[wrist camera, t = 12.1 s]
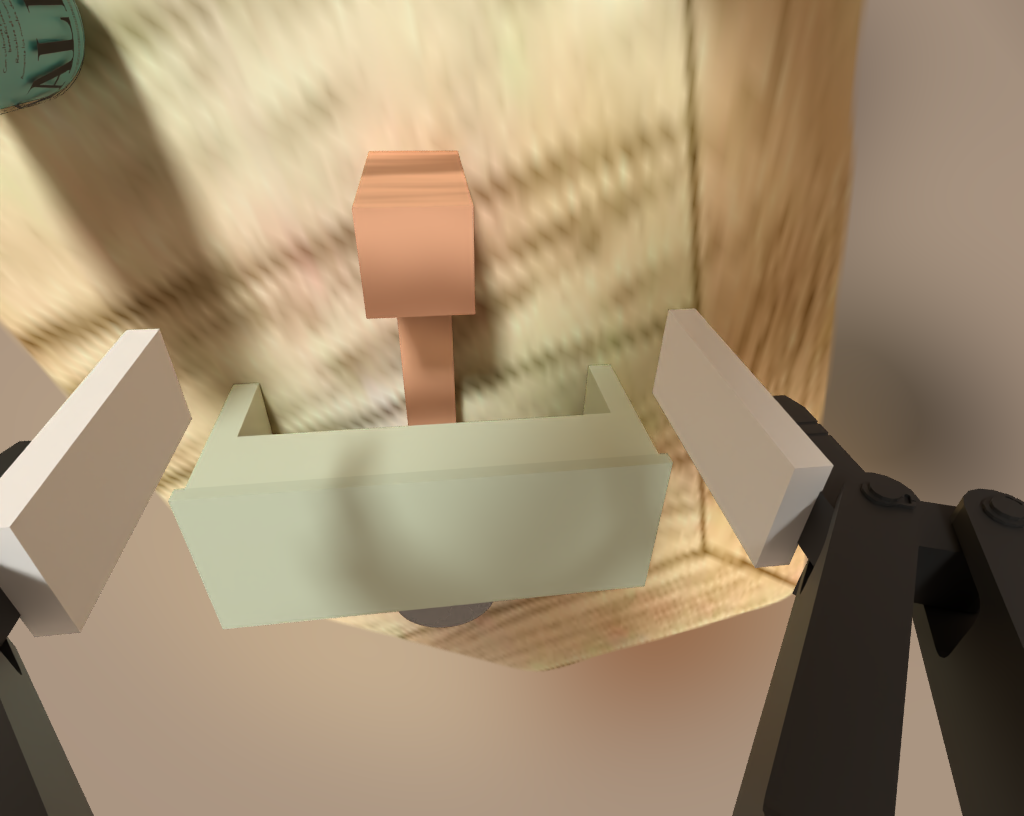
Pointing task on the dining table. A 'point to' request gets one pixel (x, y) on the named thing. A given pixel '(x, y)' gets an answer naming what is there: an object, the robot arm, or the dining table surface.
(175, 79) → the dining table surface
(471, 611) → the puck
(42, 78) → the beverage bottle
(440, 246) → the paddle
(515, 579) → the shelf
